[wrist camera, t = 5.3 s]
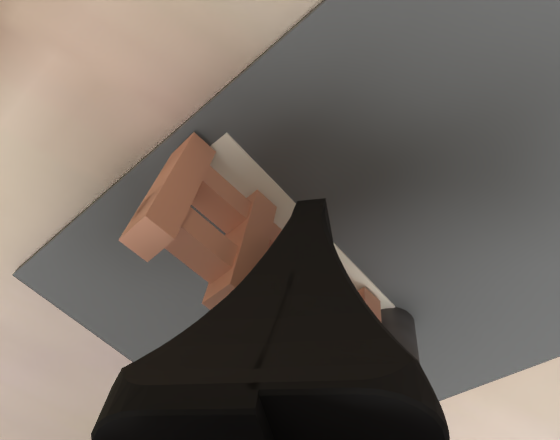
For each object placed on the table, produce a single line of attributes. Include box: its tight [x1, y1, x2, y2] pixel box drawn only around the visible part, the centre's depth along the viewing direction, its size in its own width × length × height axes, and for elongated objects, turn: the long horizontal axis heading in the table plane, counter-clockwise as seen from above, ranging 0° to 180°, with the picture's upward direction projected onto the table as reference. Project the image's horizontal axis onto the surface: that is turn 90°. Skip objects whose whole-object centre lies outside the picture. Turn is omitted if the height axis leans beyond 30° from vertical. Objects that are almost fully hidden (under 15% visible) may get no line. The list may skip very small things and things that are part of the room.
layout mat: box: [13, 0, 560, 401], centre depth 16 cm, size 19×14×1 cm
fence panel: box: [119, 132, 382, 323], centre depth 14 cm, size 8×1×4 cm, turn 45°
